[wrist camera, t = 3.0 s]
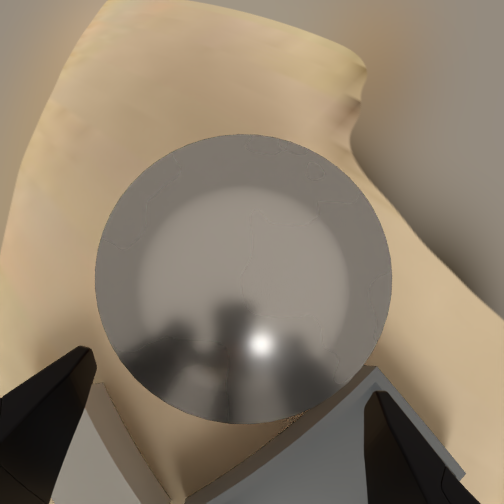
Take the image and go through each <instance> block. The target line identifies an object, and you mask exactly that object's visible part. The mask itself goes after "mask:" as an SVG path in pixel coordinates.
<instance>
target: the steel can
mask: <svg viewBox="0 0 504 504" xmlns="http://www.w3.org/2000/svg"><path fill="white" fill-rule="evenodd" d="M95 290H96V298H97V306H98V310H99V314H100V317H101V321H102V324H103V327H104V330H105V332H106V334H107V337H108V339H109V341H110V344H111V345H112V347H113V349H114V350H115V352H116V354H117V355H118V357H119V359H120V360H121V362H122V363H123V364H124V365H125V367H126V368H127V369H128V370H129V372H130V373H131V374H132V375H133V376H134V378H136V379H137V380H138V381H139V382H140V383H141V384H142V385H143V386H144V387H145V388H146V389H148V390H149V391H150V392H151V393H153V394H154V395H155V396H157V397H158V398H160V399H161V400H163V401H164V402H166V403H167V404H169V405H171V406H173V407H175V408H177V409H179V410H181V411H183V412H185V413H188V414H191V415H194V416H197V417H200V418H203V419H206V420H211V421H217V422H223V423H229V424H256V423H265V422H272V421H276V420H280V419H284V418H288V417H291V416H294V415H297V414H299V413H302V412H304V411H306V410H308V409H311V408H313V407H315V406H316V405H318V404H320V403H321V402H323V401H325V400H326V399H328V398H329V397H331V396H332V395H334V394H335V393H336V392H337V391H339V390H340V389H341V388H342V387H343V386H345V385H346V384H347V383H348V382H349V381H350V380H351V379H352V378H353V376H354V375H355V374H356V373H357V372H358V371H359V370H360V369H361V368H362V366H363V365H364V363H365V362H366V360H367V359H368V357H369V356H370V354H371V353H372V351H373V350H374V348H375V346H376V344H377V342H378V339H379V337H380V335H381V333H382V330H383V327H384V324H385V321H386V318H387V315H388V311H389V305H390V300H391V291H392V269H391V258H390V253H389V249H388V244H387V240H386V237H385V234H384V231H383V229H382V226H381V223H380V221H379V219H378V217H377V215H376V213H375V211H374V209H373V208H372V206H371V204H370V203H369V201H368V200H367V198H366V197H365V196H364V194H363V193H362V191H361V190H360V189H359V188H358V187H357V186H356V184H355V183H354V182H353V181H352V180H351V179H350V178H349V177H348V176H347V175H346V174H345V173H344V172H342V171H341V170H340V169H339V168H338V167H337V166H335V165H334V164H332V163H331V162H330V161H328V160H327V159H325V158H324V157H322V156H320V155H319V154H317V153H315V152H313V151H311V150H309V149H307V148H305V147H302V146H300V145H297V144H295V143H292V142H289V141H286V140H282V139H278V138H274V137H268V136H261V135H244V134H237V135H225V136H218V137H213V138H208V139H204V140H201V141H198V142H195V143H192V144H189V145H186V146H184V147H182V148H180V149H177V150H175V151H173V152H171V153H170V154H168V155H166V156H165V157H163V158H161V159H160V160H158V161H157V162H155V163H154V164H153V165H151V166H150V167H149V168H148V169H146V170H145V171H144V172H143V173H142V174H141V175H140V176H139V177H138V178H137V179H136V180H135V181H134V182H133V183H132V184H131V185H130V186H129V187H128V189H127V190H126V191H125V193H124V194H123V195H122V196H121V198H120V199H119V201H118V202H117V204H116V206H115V207H114V209H113V211H112V213H111V214H110V216H109V219H108V221H107V223H106V226H105V228H104V230H103V233H102V237H101V240H100V244H99V248H98V253H97V259H96V267H95Z"/></svg>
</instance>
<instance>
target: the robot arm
mask: <svg viewBox="0 0 504 504" xmlns="http://www.w3.org/2000/svg"><path fill="white" fill-rule="evenodd" d="M96 369H97V365H96V362H95V358H94V355H93V352H92V350H91V348H88V347H85V346H78V347H76V348H75V349H73V350H72V351H70V352H69V353H67V354H66V355H64V356H63V357H61V358H60V359H58V360H57V361H55V362H54V363H52V364H51V365H49V366H47V367H46V368H44V369H43V370H41V371H40V372H38V373H37V374H35V375H34V376H32V377H31V378H29V379H28V380H26V381H25V382H24V383H22V384H21V385H19V386H18V387H16V388H15V389H13V390H12V391H10V392H9V393H7V394H6V395H4V396H3V397H2V398H0V504H49V502H50V499H51V496H52V493H53V490H54V487H55V484H56V481H57V478H58V475H59V473H60V470H61V467H62V465H63V462H64V459H65V457H66V454H67V451H68V449H69V446H70V444H71V441H72V439H73V436H74V434H75V431H76V429H77V426H78V424H79V421H80V419H81V417H82V414H83V412H84V409H85V406H86V403H87V399H88V396H89V393H90V389H91V386H92V383H93V380H94V376H95V373H96ZM364 461H365V473H366V485H367V499H368V504H480V503H479V501H478V500H477V499H476V498H475V497H474V496H473V495H472V494H471V493H470V492H469V491H468V490H467V489H466V488H465V487H464V486H463V485H462V484H461V483H460V482H459V480H458V479H457V478H456V477H455V476H454V474H453V473H452V472H451V471H450V469H449V468H448V467H447V466H445V463H444V462H443V461H442V459H441V458H440V457H439V455H438V454H437V453H436V452H435V450H434V449H433V448H432V447H431V445H430V444H429V443H428V442H427V440H426V439H425V438H424V436H423V435H422V434H421V433H420V431H419V430H418V429H417V428H416V426H415V425H414V424H413V423H412V421H411V420H410V419H409V418H408V416H407V415H406V414H405V413H404V411H403V410H402V409H401V408H400V406H399V405H398V404H397V403H396V401H395V400H394V399H393V398H392V397H391V395H390V394H389V393H388V392H387V391H381V390H376V391H374V392H373V393H372V395H371V397H370V398H369V400H368V401H367V403H366V405H365V407H364Z"/></svg>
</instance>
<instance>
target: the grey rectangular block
mask: <svg viewBox="0 0 504 504" xmlns="http://www.w3.org/2000/svg"><path fill="white" fill-rule="evenodd" d="M51 498H52V500H53V501H54V503H55V504H170V502H171V499H170V498H169V497H168V495H167V494H166V492H165V491H164V489H163V488H162V486H161V485H160V484H159V482H158V481H157V479H156V477H155V476H154V474H153V473H152V471H151V470H150V468H149V467H148V465H147V463H146V462H145V460H144V459H143V457H142V455H141V454H140V452H139V450H138V449H137V447H136V445H135V443H134V442H133V440H132V438H131V436H130V435H129V433H128V431H127V429H126V427H125V426H124V424H123V422H122V420H121V418H120V416H119V414H118V412H117V410H116V408H115V406H114V404H113V402H112V400H111V398H110V396H109V394H108V392H107V390H106V388H105V386H104V384H103V383H98V384H93V385H92V386H91V389H90V393H89V396H88V399H87V403H86V406H85V409H84V412H83V414H82V417H81V419H80V421H79V424H78V426H77V429H76V431H75V434H74V436H73V439H72V441H71V444H70V446H69V449H68V451H67V454H66V457H65V459H64V462H63V465H62V467H61V470H60V473H59V475H58V478H57V481H56V484H55V487H54V490H53V493H52V496H51Z"/></svg>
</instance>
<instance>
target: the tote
mask: <svg viewBox="0 0 504 504" xmlns="http://www.w3.org/2000/svg"><path fill="white" fill-rule="evenodd" d="M376 390H381V391H387V392H388V393H389V394H390V395H391V397H392V398H393V399H394V400H395V401H396V403H397V404H398V405H399V406H400V408H401V409H402V410H403V411H404V413H405V414H406V415H407V416H408V418H409V419H410V420H411V421H412V423H413V424H414V425H415V426H416V428H417V429H418V430H419V431H420V433H421V434H422V435H423V436H424V438H425V439H426V440H427V442H428V443H429V444H430V445H431V447H432V448H433V449H434V450H435V452H436V453H437V454H438V455H439V457H440V458H441V459H442V461H443V462H444V463H445V466H447V467H448V468H449V469H450V471H451V472H452V473H453V474H454V476H455V477H456V478H457V479H458V480H459V481H460V480H461V479H462V478H463V477H464V475H465V474H466V473H465V472H464V470H463V469H462V468H461V467H460V466H459V464H458V463H457V462H456V461H455V459H454V458H453V457H452V456H451V454H450V453H449V452H448V451H447V450H446V448H445V447H444V446H443V445H442V444H441V442H440V441H439V440H438V439H437V437H436V436H435V435H434V434H433V433H432V431H431V430H430V429H429V428H428V427H427V425H426V424H425V423H424V422H423V421H422V419H421V418H420V417H419V416H418V415H417V413H416V412H415V411H414V410H413V409H412V407H411V406H410V405H409V404H408V403H407V402H406V400H405V399H404V398H403V397H402V396H401V394H400V393H399V392H398V391H397V390H396V388H395V387H394V386H393V385H392V384H391V383H390V381H389V380H388V379H387V378H386V377H385V376H384V374H383V373H382V372H381V371H380V370H379V368H378V367H377V366H366V365H363V366H362V368H361V369H360V370H359V371H358V372H357V373H356V374H355V375H354V376H353V378H352V379H351V380H350V381H349V382H348V383H347V384H346V385H345V386H343V387H342V388H341V389H340V390H339V391H337V392H336V393H335V394H334V395H332V396H331V397H329V398H328V399H326V400H325V401H323V402H321V403H320V404H318V405H316V406H315V407H313V408H311V409H309V410H308V411H307V412H306V413H305V414H304V415H302V416H301V417H300V418H299V419H298V420H296V421H295V422H294V423H293V424H292V425H290V426H289V427H288V428H287V429H285V430H284V431H283V432H282V433H280V434H279V435H278V436H277V437H275V438H274V439H273V440H271V441H270V442H269V443H268V444H266V445H265V446H264V447H262V448H261V449H260V450H258V451H257V452H255V453H254V454H253V455H251V456H250V457H249V458H247V459H246V460H244V461H243V462H242V463H240V464H239V465H237V466H236V467H234V468H233V469H232V470H230V471H229V472H227V473H226V474H224V475H223V476H221V477H220V478H218V479H217V480H215V481H213V482H212V483H210V484H209V485H207V486H206V487H204V488H202V489H201V490H199V491H198V492H196V493H194V494H193V495H191V496H189V497H188V498H186V500H185V503H184V504H368V499H367V485H366V473H365V461H364V407H365V405H366V403H367V401H368V400H369V398H370V397H371V395H372V393H373V392H374V391H376Z"/></svg>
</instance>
